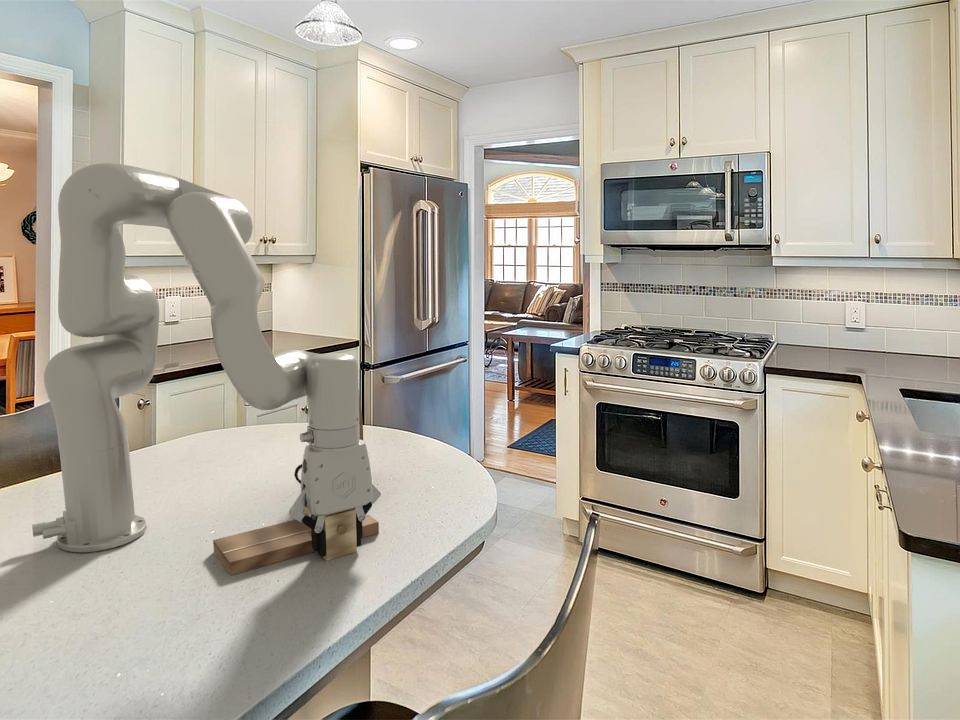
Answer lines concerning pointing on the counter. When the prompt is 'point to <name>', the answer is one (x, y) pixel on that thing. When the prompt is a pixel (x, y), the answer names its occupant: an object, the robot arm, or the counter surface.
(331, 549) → the board
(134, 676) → the counter surface
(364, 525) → the board
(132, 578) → the counter surface
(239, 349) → the robot arm
